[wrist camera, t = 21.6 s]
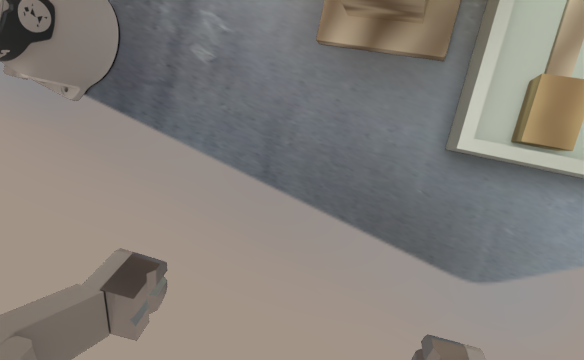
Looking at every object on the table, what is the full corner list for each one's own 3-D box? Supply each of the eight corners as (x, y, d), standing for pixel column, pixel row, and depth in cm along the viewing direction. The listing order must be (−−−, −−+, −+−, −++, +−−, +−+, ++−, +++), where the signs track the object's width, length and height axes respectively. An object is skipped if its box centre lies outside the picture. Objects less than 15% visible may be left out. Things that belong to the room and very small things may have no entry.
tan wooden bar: (510, 142, 34) (521, 141, 31) (566, -40, 32) (584, -62, 29) (556, 150, 33) (572, 150, 30) (618, -37, 31) (643, -60, 27)
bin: (445, 149, 37) (456, 148, 28) (504, -59, 34) (540, -140, 25) (611, 184, 33) (692, 197, 23) (697, -52, 30) (830, -147, 20)
